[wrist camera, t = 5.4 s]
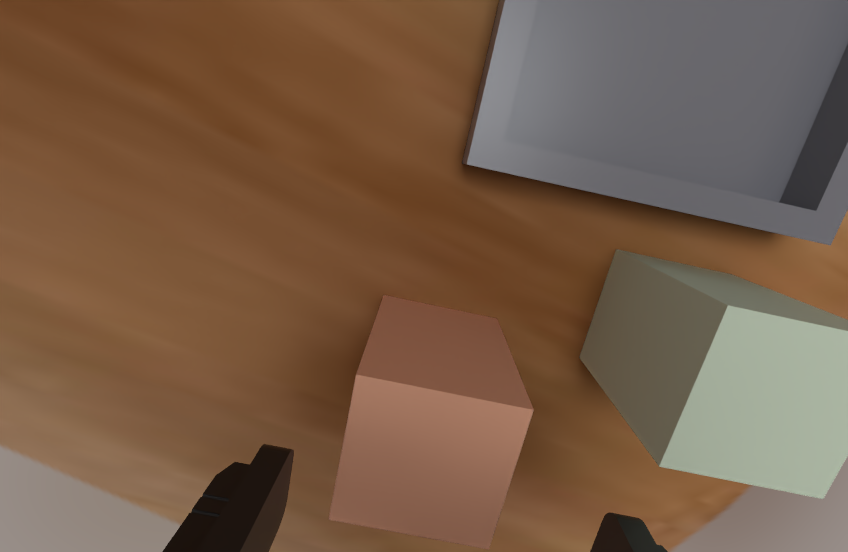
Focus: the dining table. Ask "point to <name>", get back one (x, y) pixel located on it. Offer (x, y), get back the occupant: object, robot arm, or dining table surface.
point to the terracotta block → (432, 426)
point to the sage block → (722, 374)
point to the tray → (675, 106)
